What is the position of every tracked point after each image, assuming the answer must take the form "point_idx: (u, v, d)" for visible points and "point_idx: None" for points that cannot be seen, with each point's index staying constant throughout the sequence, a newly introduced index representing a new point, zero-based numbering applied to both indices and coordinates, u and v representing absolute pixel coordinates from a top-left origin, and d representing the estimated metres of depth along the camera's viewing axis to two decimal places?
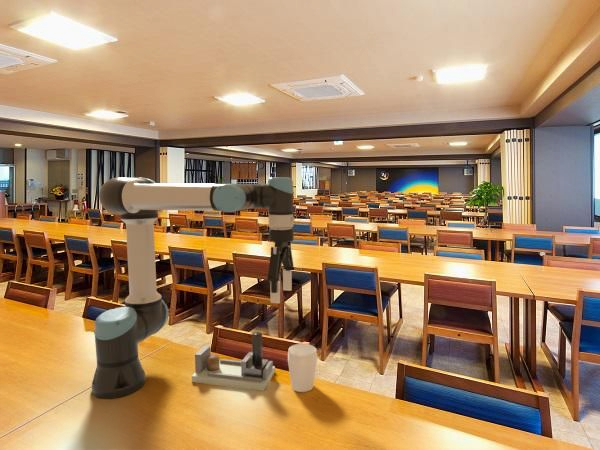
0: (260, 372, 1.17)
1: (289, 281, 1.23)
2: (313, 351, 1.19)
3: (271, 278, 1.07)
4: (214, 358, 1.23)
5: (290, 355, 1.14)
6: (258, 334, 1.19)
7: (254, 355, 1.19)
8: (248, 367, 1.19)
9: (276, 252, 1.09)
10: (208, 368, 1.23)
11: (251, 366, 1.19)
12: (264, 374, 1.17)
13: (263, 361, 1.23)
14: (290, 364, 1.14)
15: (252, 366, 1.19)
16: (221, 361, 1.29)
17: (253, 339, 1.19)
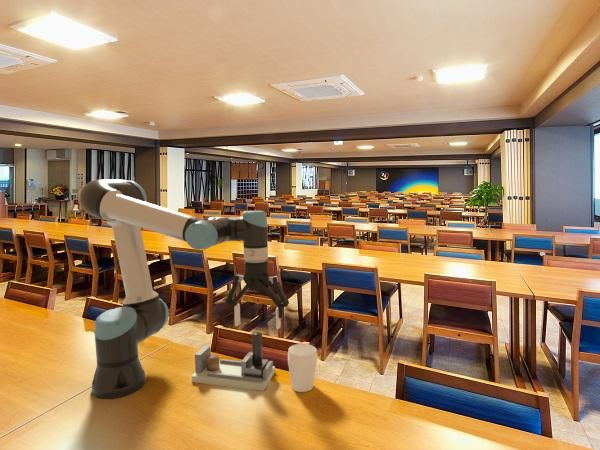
0: (260, 372, 1.17)
1: None
2: (313, 351, 1.19)
3: None
4: (214, 358, 1.23)
5: (290, 355, 1.14)
6: (258, 334, 1.19)
7: (254, 355, 1.19)
8: (248, 367, 1.19)
9: None
10: (208, 368, 1.23)
11: (251, 366, 1.19)
12: (264, 374, 1.17)
13: (263, 361, 1.23)
14: (290, 364, 1.14)
15: (252, 366, 1.19)
16: (221, 361, 1.29)
17: (253, 339, 1.19)
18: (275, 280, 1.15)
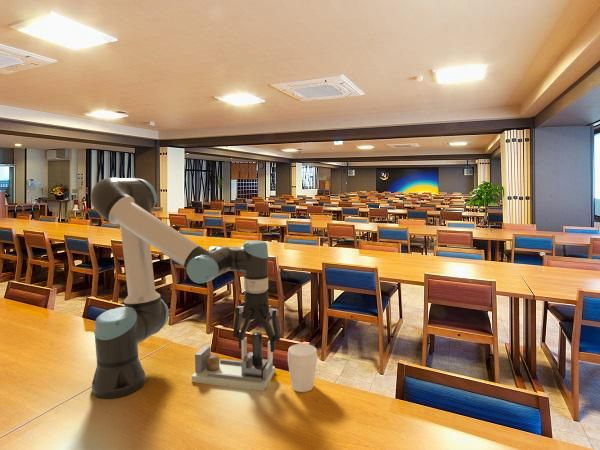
0: (260, 372, 1.17)
1: None
2: (313, 351, 1.19)
3: None
4: (214, 358, 1.23)
5: (290, 355, 1.14)
6: (258, 334, 1.19)
7: (254, 355, 1.19)
8: (248, 367, 1.19)
9: None
10: (208, 368, 1.23)
11: (251, 366, 1.19)
12: (264, 374, 1.17)
13: (263, 361, 1.23)
14: (290, 364, 1.14)
15: (252, 366, 1.19)
16: (221, 361, 1.29)
17: (253, 339, 1.19)
18: (274, 314, 1.17)
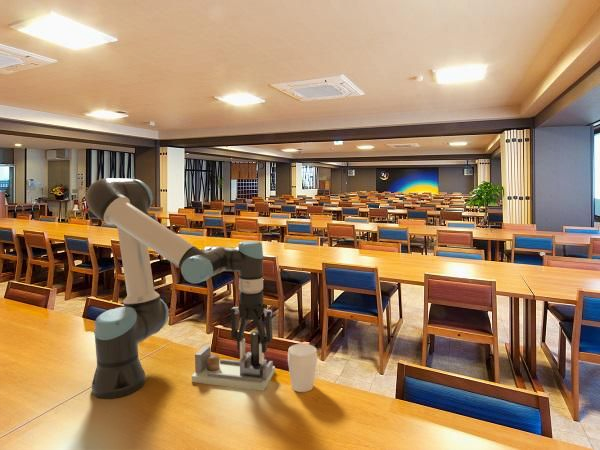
0: (259, 372, 1.17)
1: None
2: (313, 351, 1.19)
3: None
4: (214, 358, 1.23)
5: (290, 355, 1.14)
6: (256, 334, 1.19)
7: (253, 355, 1.19)
8: (247, 367, 1.19)
9: None
10: (208, 368, 1.23)
11: (250, 366, 1.19)
12: (264, 374, 1.17)
13: None
14: (290, 364, 1.14)
15: (251, 366, 1.19)
16: (221, 361, 1.29)
17: (252, 339, 1.19)
18: (269, 315, 1.17)
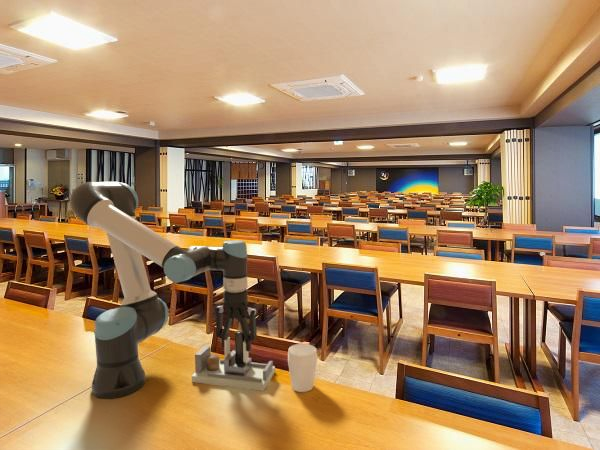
0: (242, 370, 1.19)
1: None
2: (313, 351, 1.19)
3: None
4: (214, 358, 1.23)
5: (290, 355, 1.14)
6: (240, 333, 1.21)
7: (237, 353, 1.21)
8: (231, 365, 1.20)
9: None
10: (208, 368, 1.23)
11: (234, 364, 1.20)
12: (264, 374, 1.17)
13: None
14: (290, 364, 1.14)
15: (235, 364, 1.21)
16: (221, 361, 1.29)
17: (236, 337, 1.20)
18: (252, 314, 1.18)
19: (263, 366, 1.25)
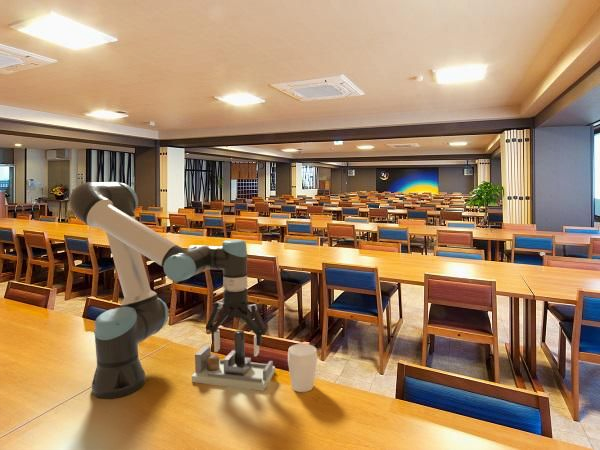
0: (242, 370, 1.19)
1: None
2: (313, 351, 1.19)
3: None
4: (214, 358, 1.23)
5: (290, 355, 1.14)
6: (240, 333, 1.21)
7: (236, 353, 1.21)
8: (230, 365, 1.20)
9: None
10: (208, 368, 1.23)
11: (234, 364, 1.20)
12: (264, 374, 1.17)
13: (246, 359, 1.24)
14: (290, 364, 1.14)
15: (234, 364, 1.21)
16: (221, 361, 1.29)
17: (235, 337, 1.20)
18: (253, 308, 1.18)
19: (263, 366, 1.25)
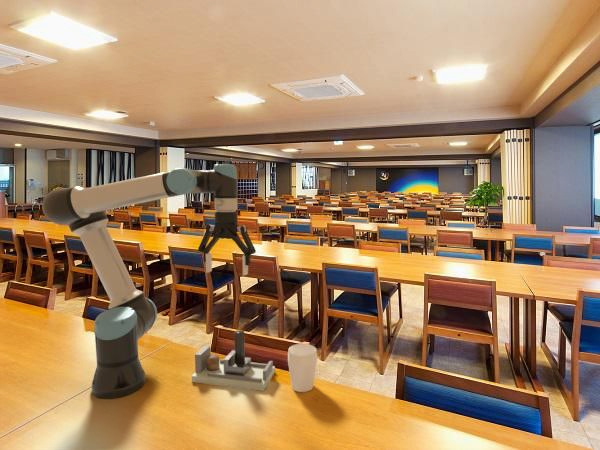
0: (242, 370, 1.19)
1: None
2: (313, 351, 1.19)
3: None
4: (214, 358, 1.23)
5: (290, 355, 1.14)
6: (240, 333, 1.21)
7: (236, 353, 1.21)
8: (230, 365, 1.20)
9: None
10: (208, 368, 1.23)
11: (234, 364, 1.20)
12: (264, 374, 1.17)
13: (246, 359, 1.24)
14: (290, 364, 1.14)
15: (234, 364, 1.21)
16: (221, 361, 1.29)
17: (235, 337, 1.20)
18: (242, 229, 1.24)
19: (263, 366, 1.25)
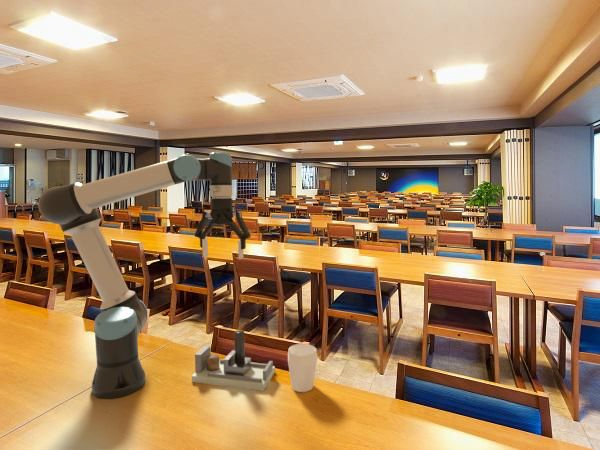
0: (242, 370, 1.19)
1: None
2: (313, 351, 1.19)
3: None
4: (214, 358, 1.23)
5: (290, 355, 1.14)
6: (240, 333, 1.21)
7: (236, 353, 1.21)
8: (230, 365, 1.20)
9: None
10: (208, 368, 1.23)
11: (234, 364, 1.20)
12: (264, 374, 1.17)
13: (246, 359, 1.24)
14: (290, 364, 1.14)
15: (234, 364, 1.21)
16: (221, 361, 1.29)
17: (235, 337, 1.20)
18: (238, 214, 1.30)
19: (263, 366, 1.25)
